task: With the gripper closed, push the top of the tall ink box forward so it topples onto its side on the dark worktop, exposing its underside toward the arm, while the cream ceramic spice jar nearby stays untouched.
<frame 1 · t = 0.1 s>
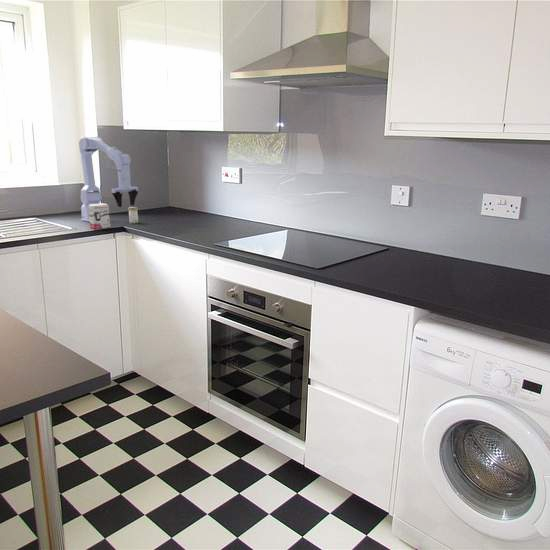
hand: (126, 206, 268), 10 cm above the worktop, fingers open, 7 cm apart
spice jar: (133, 222, 280), on the worktop
ink box: (100, 228, 265), on the worktop
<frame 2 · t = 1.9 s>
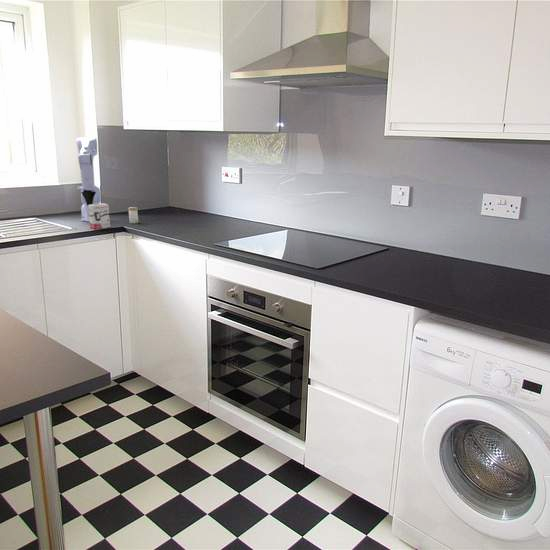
hand: (89, 205, 267), 10 cm above the worktop, fingers closed
nothing on the worktop moved.
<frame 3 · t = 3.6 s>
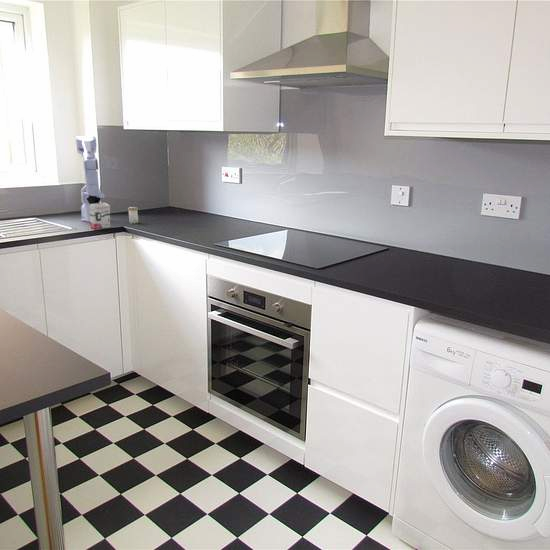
hand: (94, 211, 264), 8 cm above the worktop, fingers closed
ink box: (100, 227, 265), on the worktop, touching gripper
everything else where it was.
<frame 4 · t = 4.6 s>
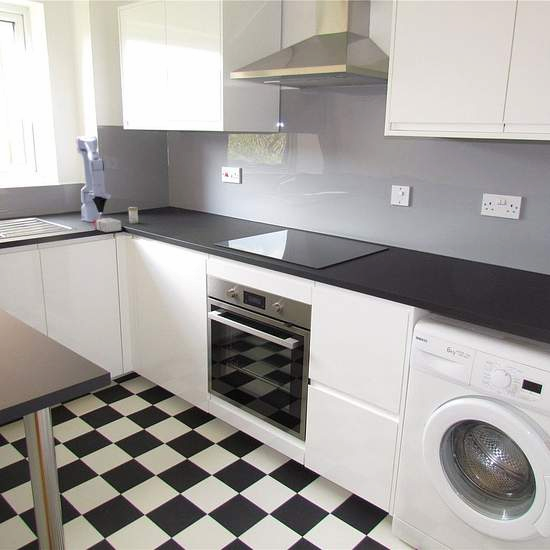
hand: (100, 212, 262), 8 cm above the worktop, fingers closed
ink box: (101, 223, 262), point 2 cm above the worktop
everything else where it was.
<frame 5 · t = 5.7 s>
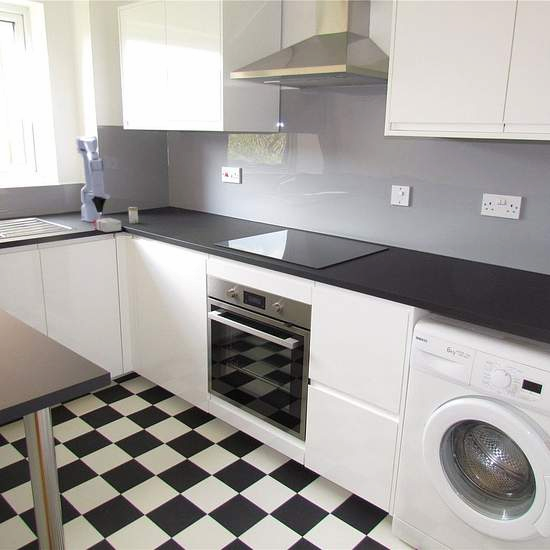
hand: (99, 212, 262), 8 cm above the worktop, fingers closed
nothing on the worktop moved.
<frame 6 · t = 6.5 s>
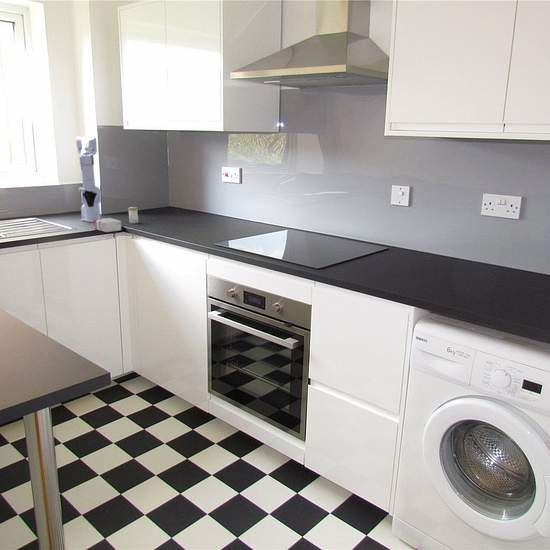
hand: (90, 206, 265), 10 cm above the worktop, fingers closed
nothing on the worktop moved.
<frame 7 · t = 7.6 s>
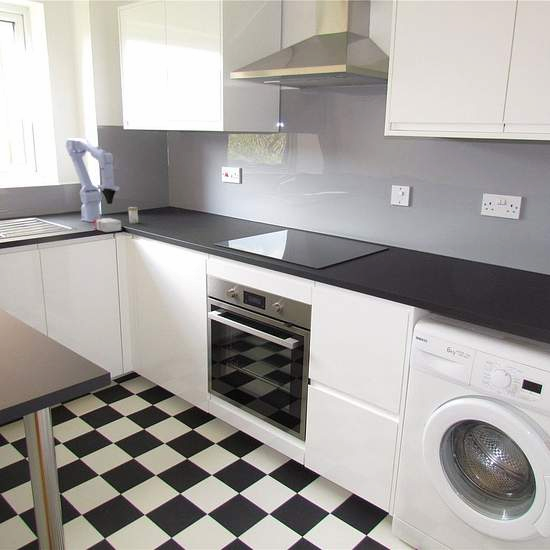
hand: (109, 203, 273), 10 cm above the worktop, fingers closed
nothing on the worktop moved.
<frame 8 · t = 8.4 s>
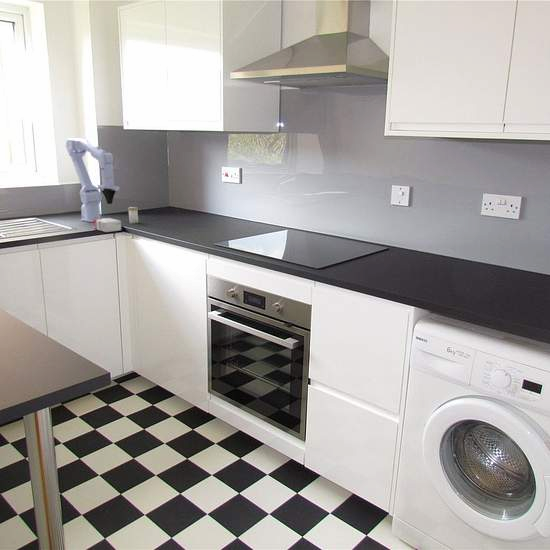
hand: (109, 203, 273), 10 cm above the worktop, fingers closed
nothing on the worktop moved.
at the end: ink box tilted 90°; ink box moved 3.3 cm from its start; ink box inside the target area (7.9 cm from its centre), point 2.4 cm above the worktop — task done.
